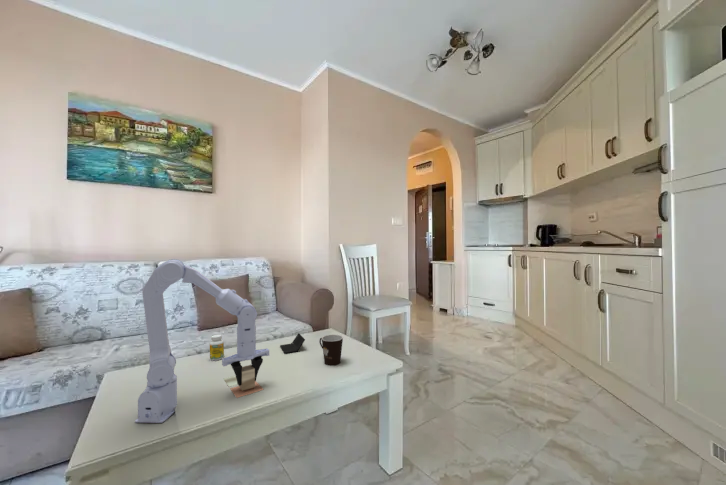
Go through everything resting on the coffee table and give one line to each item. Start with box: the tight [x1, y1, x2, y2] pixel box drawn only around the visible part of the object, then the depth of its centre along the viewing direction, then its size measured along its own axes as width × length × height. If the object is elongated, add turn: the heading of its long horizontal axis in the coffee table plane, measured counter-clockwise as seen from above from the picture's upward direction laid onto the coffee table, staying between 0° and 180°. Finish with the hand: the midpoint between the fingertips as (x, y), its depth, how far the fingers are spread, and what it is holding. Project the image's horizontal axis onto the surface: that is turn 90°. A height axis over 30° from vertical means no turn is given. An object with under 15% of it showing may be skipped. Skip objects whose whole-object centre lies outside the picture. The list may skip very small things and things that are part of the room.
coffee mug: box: [319, 334, 344, 367], centre depth 124 cm, size 12×9×10 cm
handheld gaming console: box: [279, 332, 306, 355], centre depth 138 cm, size 12×7×10 cm
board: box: [223, 374, 264, 399], centre depth 102 cm, size 18×10×1 cm, turn 38°
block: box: [238, 364, 255, 391], centre depth 98 cm, size 4×4×6 cm
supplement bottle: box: [209, 334, 225, 362], centre depth 127 cm, size 5×5×10 cm
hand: (246, 382), depth 98 cm, fingers closed on block, 4 cm apart
